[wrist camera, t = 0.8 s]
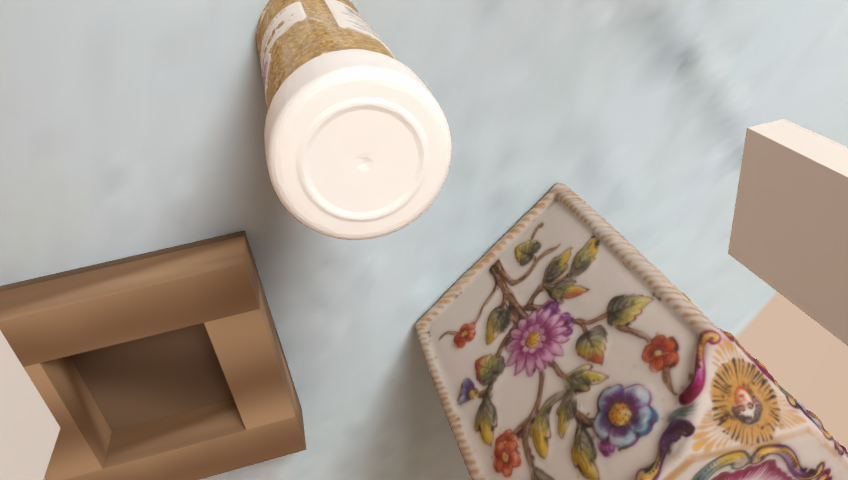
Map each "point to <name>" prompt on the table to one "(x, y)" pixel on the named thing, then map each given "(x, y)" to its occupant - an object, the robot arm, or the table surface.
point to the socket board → (157, 364)
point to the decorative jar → (604, 368)
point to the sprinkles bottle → (346, 122)
